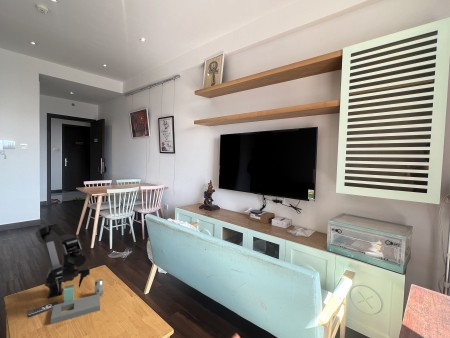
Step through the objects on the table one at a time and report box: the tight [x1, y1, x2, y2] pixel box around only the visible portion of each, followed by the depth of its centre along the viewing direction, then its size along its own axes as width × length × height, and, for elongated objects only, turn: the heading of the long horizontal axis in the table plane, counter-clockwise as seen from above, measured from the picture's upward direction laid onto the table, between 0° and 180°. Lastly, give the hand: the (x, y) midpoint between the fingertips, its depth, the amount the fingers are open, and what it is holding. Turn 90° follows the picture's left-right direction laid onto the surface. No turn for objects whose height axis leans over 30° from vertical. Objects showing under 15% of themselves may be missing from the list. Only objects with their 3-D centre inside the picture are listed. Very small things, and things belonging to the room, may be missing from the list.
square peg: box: [63, 284, 75, 303], centre depth 117 cm, size 4×4×8 cm
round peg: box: [94, 278, 104, 297], centre depth 124 cm, size 4×4×8 cm
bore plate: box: [50, 294, 101, 325], centre depth 111 cm, size 11×20×2 cm, turn 122°
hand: (68, 289), depth 117 cm, fingers open, 9 cm apart
